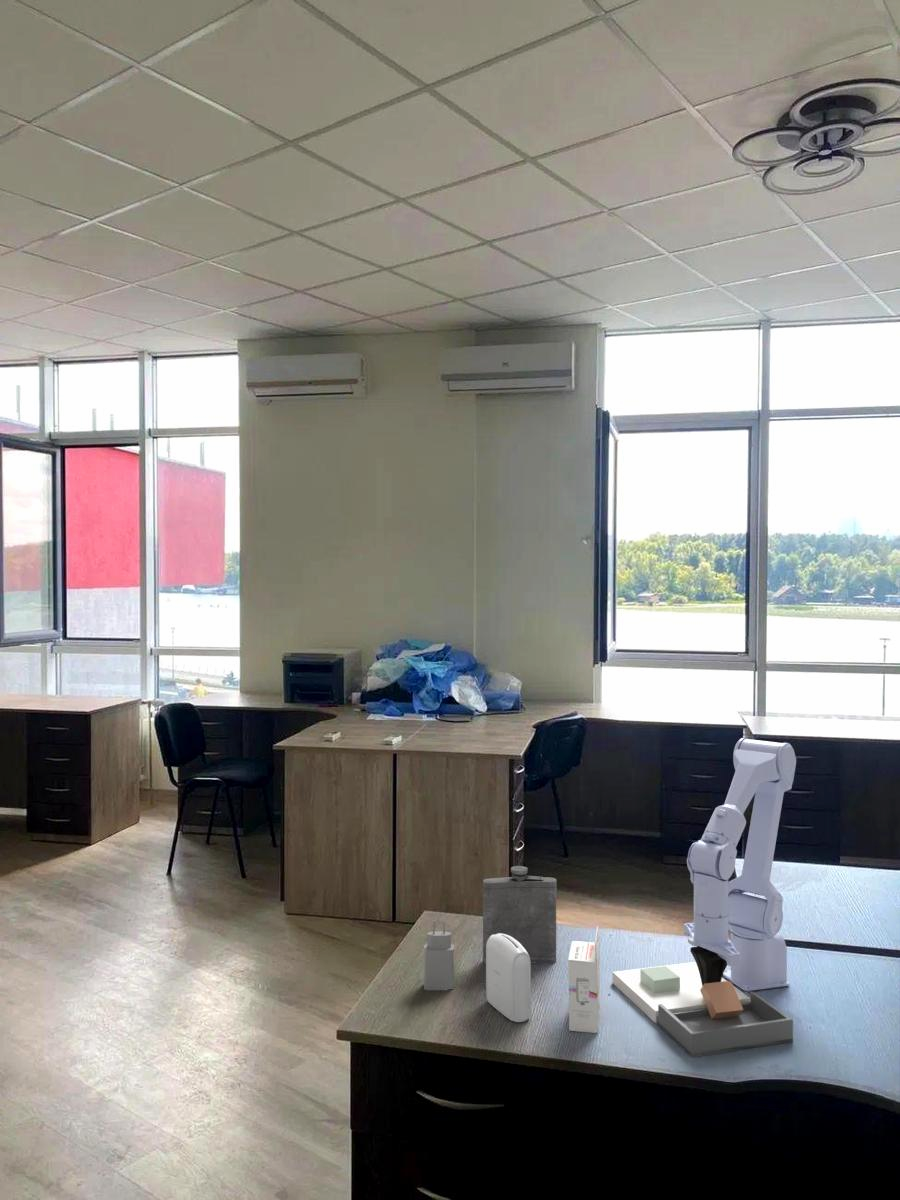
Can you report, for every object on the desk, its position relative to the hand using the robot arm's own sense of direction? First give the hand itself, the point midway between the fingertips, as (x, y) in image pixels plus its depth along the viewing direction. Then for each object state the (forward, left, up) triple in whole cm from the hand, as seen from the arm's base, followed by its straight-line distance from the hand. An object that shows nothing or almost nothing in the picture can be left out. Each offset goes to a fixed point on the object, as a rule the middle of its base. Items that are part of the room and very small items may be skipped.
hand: (710, 991), depth 152 cm
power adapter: (+43, -20, -3) cm, 48 cm away
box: (+3, +8, -3) cm, 9 cm away
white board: (+3, -5, -3) cm, 7 cm away
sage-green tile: (+6, -6, -1) cm, 9 cm away
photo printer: (+34, -8, -3) cm, 35 cm away
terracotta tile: (0, +3, -1) cm, 3 cm away
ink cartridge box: (+23, -1, -3) cm, 23 cm away
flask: (+25, -27, -3) cm, 37 cm away
